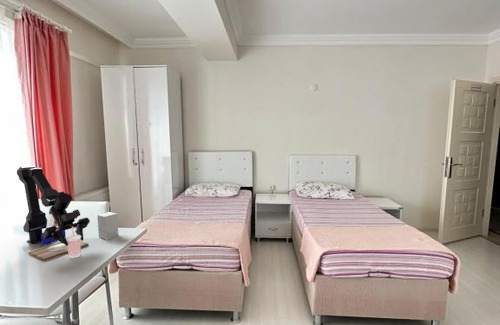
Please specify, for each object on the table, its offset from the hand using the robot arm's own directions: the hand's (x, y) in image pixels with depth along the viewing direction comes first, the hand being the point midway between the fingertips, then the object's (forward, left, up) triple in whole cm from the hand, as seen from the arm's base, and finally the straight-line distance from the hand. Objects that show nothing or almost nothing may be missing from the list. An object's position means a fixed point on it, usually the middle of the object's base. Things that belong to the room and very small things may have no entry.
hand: (75, 242), depth 132 cm
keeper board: (-14, 0, -7) cm, 16 cm away
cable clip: (-31, +5, -7) cm, 32 cm away
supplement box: (-10, +23, -7) cm, 26 cm away
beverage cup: (-1, 0, -7) cm, 7 cm away
